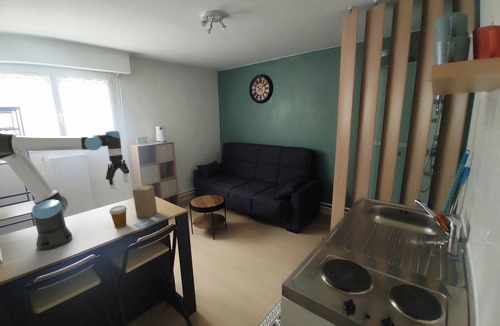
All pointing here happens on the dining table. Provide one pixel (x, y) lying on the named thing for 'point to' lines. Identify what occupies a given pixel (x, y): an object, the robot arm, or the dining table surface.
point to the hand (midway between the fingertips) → (119, 185)
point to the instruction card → (149, 221)
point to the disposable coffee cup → (118, 216)
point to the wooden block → (144, 201)
